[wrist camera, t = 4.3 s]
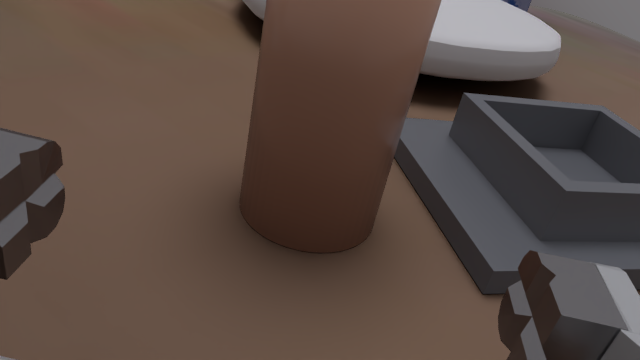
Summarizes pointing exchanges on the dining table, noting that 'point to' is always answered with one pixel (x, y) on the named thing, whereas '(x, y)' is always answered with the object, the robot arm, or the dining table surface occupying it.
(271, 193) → the salmon pink cylinder
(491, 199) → the grey square tray
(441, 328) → the dining table surface
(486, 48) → the plate
